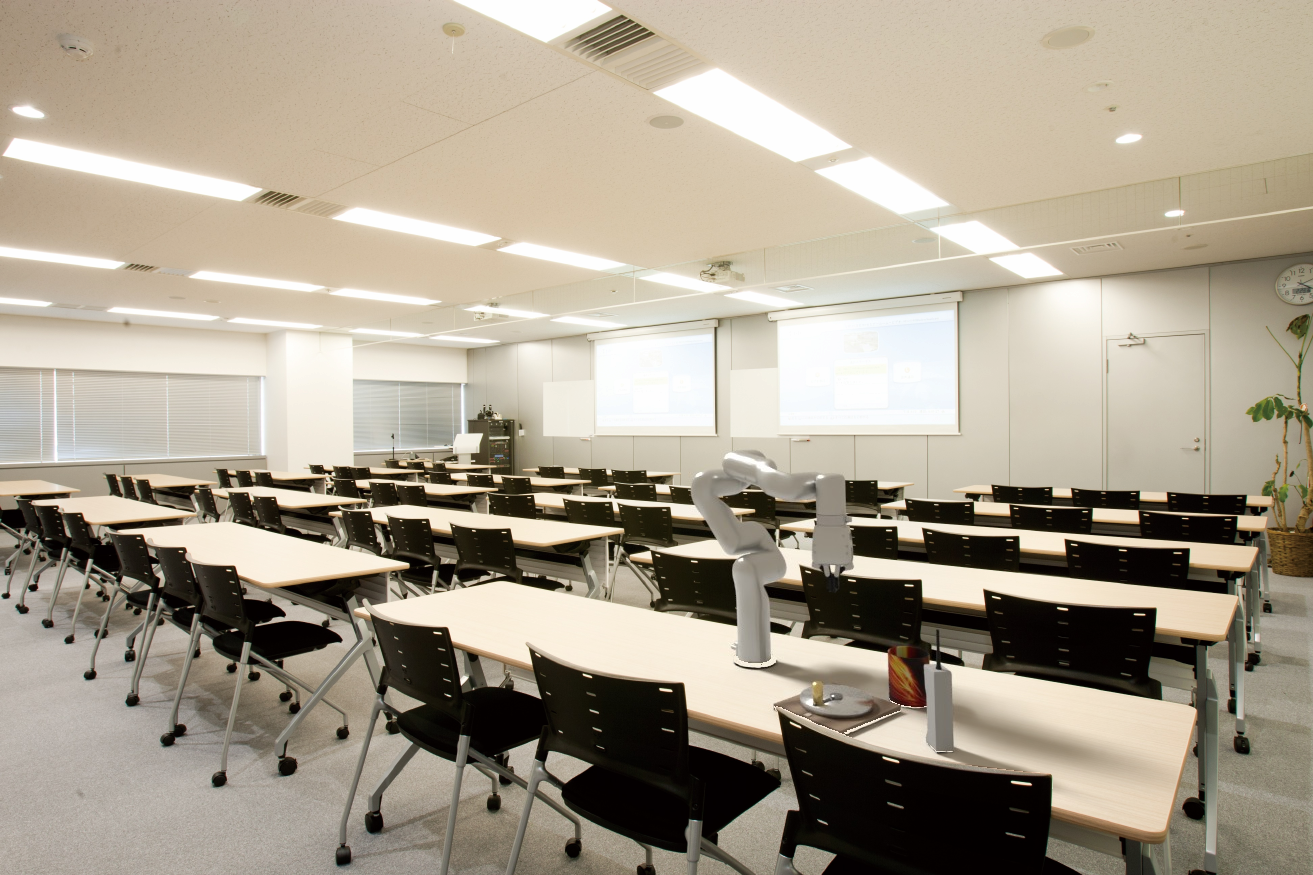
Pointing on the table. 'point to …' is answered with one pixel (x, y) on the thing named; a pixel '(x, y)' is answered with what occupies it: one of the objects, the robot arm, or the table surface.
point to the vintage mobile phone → (939, 704)
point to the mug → (907, 675)
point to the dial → (836, 701)
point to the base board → (840, 724)
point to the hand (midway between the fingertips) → (833, 590)
